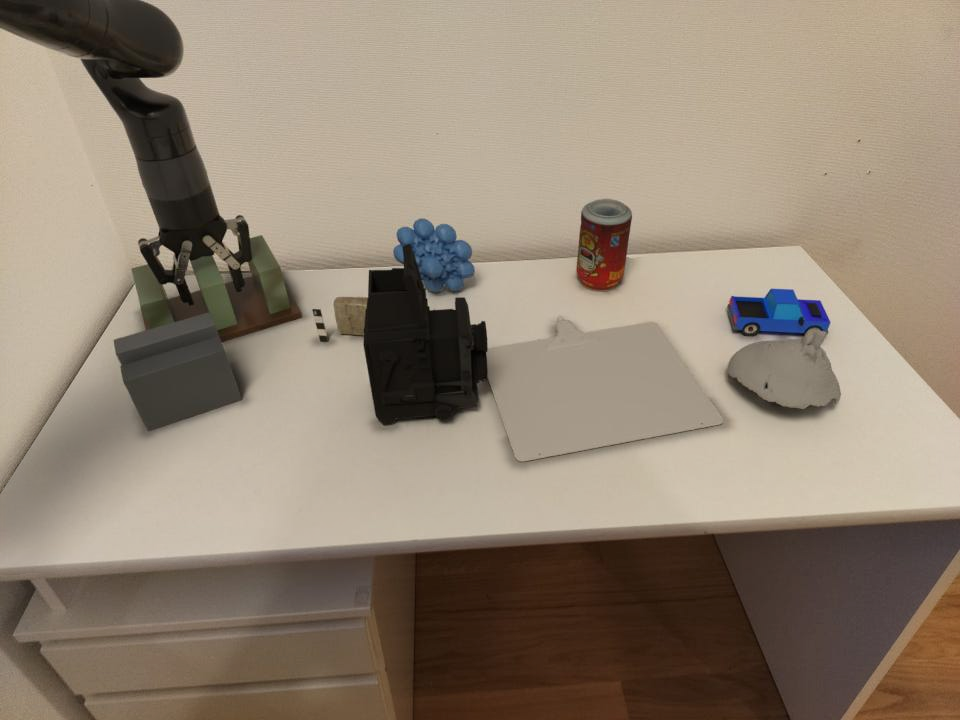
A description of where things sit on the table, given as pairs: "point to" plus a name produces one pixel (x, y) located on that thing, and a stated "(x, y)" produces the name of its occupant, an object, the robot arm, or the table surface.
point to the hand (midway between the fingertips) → (214, 295)
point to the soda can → (603, 244)
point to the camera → (419, 348)
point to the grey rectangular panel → (594, 390)
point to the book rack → (253, 306)
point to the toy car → (777, 313)
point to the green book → (214, 292)
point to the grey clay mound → (788, 371)
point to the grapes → (436, 254)
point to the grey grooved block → (176, 371)
